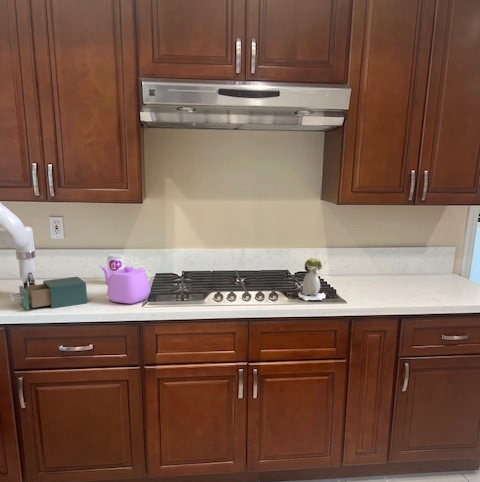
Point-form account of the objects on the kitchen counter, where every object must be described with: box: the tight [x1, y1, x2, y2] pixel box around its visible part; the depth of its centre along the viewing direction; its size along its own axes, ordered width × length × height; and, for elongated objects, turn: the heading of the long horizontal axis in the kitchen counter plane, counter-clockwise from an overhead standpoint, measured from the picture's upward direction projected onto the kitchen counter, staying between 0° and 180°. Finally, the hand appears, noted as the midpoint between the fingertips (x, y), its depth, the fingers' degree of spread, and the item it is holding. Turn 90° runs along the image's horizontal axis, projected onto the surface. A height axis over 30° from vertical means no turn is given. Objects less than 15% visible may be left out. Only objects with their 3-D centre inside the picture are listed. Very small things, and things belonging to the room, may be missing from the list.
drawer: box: [7, 283, 51, 311], centre depth 193 cm, size 18×11×7 cm, turn 124°
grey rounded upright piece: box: [297, 257, 327, 302], centre depth 211 cm, size 12×13×18 cm
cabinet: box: [42, 276, 88, 309], centre depth 200 cm, size 15×13×9 cm
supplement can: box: [106, 253, 126, 275], centre depth 228 cm, size 8×8×15 cm
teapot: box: [99, 265, 151, 305], centre depth 206 cm, size 23×21×15 cm
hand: (30, 293), depth 204 cm, fingers open, 9 cm apart
